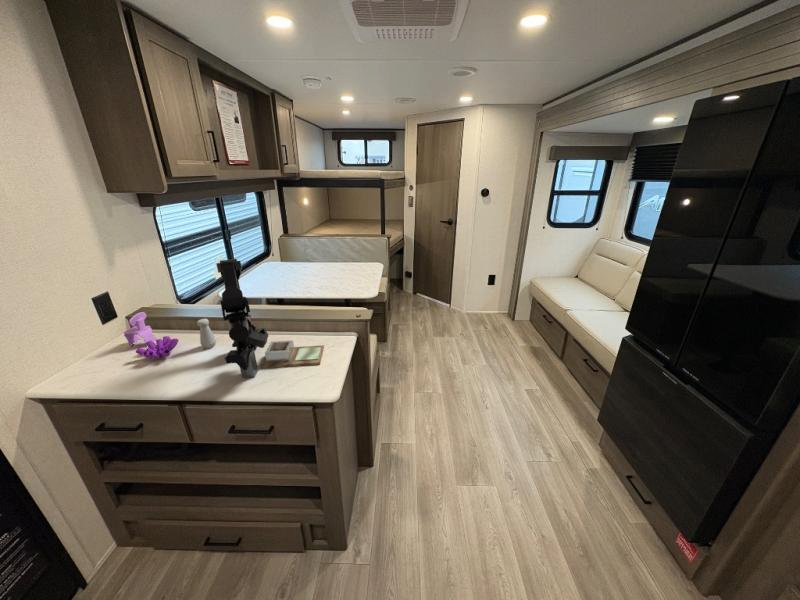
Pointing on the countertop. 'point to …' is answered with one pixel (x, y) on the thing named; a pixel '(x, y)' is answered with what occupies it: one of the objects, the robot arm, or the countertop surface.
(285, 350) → the socket
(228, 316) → the robot arm
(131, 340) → the toy chair
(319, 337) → the countertop surface
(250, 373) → the steel key
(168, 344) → the purple coral
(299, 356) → the stand board
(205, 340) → the salt shaker
